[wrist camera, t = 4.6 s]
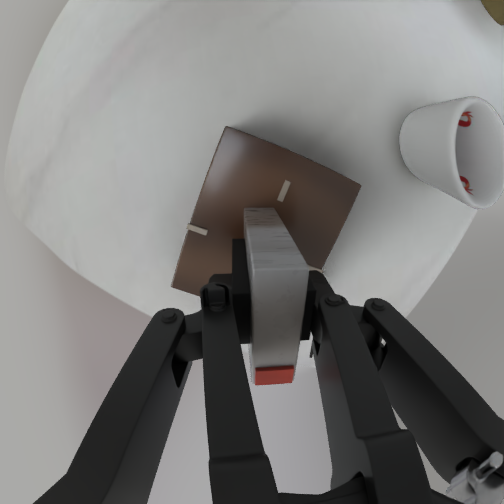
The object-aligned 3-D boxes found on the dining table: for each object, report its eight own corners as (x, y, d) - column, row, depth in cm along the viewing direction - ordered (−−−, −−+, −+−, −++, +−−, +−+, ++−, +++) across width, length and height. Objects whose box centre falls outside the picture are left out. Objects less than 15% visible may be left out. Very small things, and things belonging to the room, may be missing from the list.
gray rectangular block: (243, 207, 17) (253, 272, 9) (274, 207, 18) (312, 270, 9) (244, 288, 20) (251, 388, 11) (271, 287, 20) (294, 385, 11)
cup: (467, 119, 18) (525, 125, 10) (463, 193, 21) (518, 216, 14) (386, 92, 17) (449, 80, 10) (384, 183, 20) (445, 206, 13)
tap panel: (225, 128, 18) (224, 124, 15) (347, 179, 20) (364, 186, 17) (176, 270, 22) (168, 289, 19) (286, 304, 24) (292, 325, 21)
